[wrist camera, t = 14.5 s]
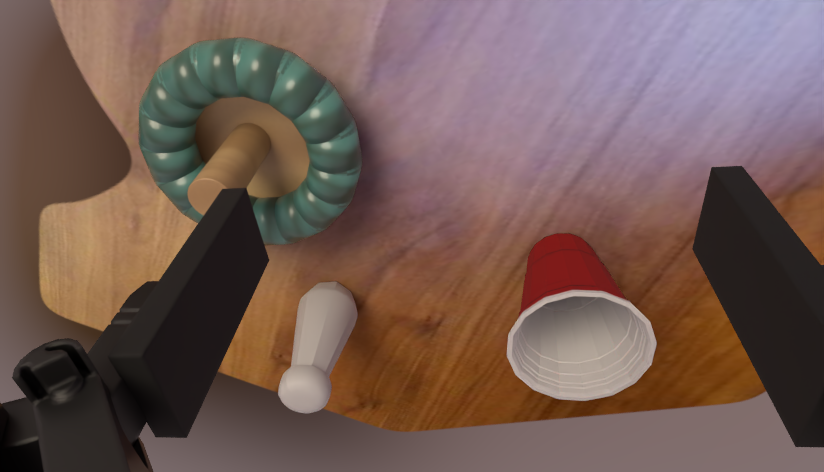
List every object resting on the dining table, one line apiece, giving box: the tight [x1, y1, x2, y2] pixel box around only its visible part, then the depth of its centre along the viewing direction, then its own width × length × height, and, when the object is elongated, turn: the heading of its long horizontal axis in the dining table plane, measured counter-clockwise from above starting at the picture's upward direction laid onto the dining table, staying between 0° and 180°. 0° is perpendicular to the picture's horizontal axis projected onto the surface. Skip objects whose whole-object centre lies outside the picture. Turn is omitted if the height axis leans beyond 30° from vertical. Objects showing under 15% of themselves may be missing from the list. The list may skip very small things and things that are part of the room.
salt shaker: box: [278, 281, 358, 413], centre depth 51 cm, size 6×6×13 cm
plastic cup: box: [507, 233, 657, 401], centre depth 47 cm, size 11×11×12 cm
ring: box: [139, 38, 362, 245], centre depth 44 cm, size 17×17×4 cm
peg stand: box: [188, 62, 310, 215], centre depth 42 cm, size 11×11×10 cm
